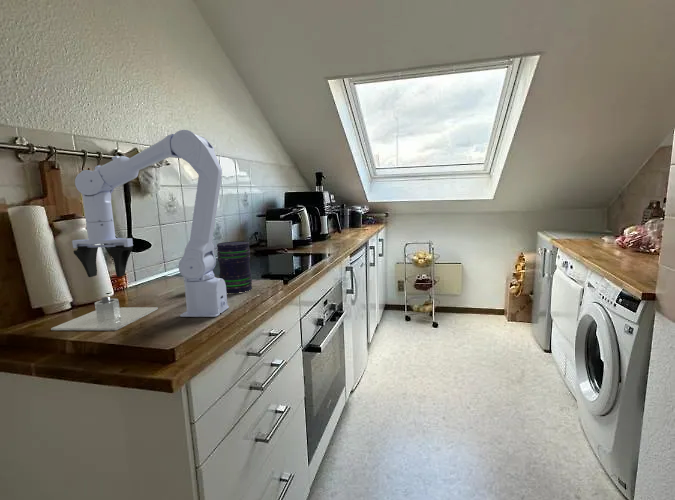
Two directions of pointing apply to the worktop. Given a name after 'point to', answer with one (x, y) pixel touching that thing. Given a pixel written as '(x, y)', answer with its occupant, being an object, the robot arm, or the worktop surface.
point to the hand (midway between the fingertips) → (106, 276)
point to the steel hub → (107, 309)
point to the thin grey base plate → (93, 324)
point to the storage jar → (235, 266)
